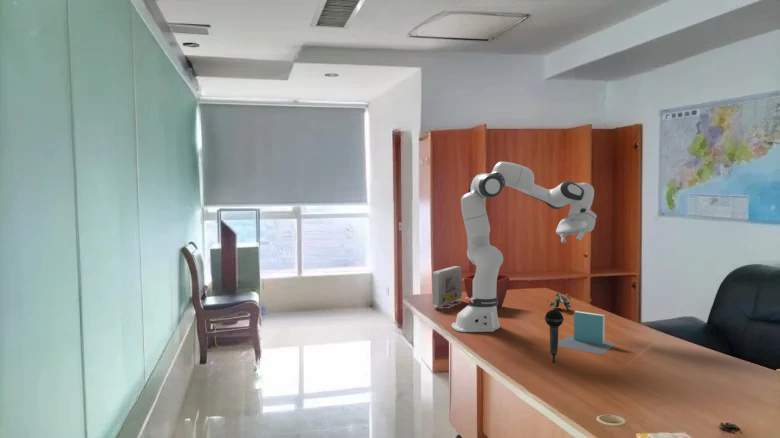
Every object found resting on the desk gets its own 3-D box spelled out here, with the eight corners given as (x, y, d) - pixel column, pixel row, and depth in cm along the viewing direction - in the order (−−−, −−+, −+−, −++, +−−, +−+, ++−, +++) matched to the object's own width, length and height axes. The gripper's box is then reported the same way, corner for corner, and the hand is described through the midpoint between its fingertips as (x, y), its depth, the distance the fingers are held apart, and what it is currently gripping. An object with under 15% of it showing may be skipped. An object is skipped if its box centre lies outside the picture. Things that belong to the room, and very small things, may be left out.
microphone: (560, 366, 205) (561, 313, 204) (542, 363, 209) (542, 310, 208) (565, 361, 211) (565, 309, 210) (547, 358, 215) (547, 307, 213)
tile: (575, 338, 238) (576, 310, 238) (604, 343, 231) (604, 315, 230) (573, 339, 237) (574, 311, 236) (602, 344, 229) (602, 316, 228)
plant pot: (510, 306, 303) (510, 275, 302) (497, 313, 287) (497, 281, 286) (477, 302, 313) (477, 272, 312) (463, 309, 297) (463, 278, 296)
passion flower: (567, 320, 292) (577, 305, 284) (547, 317, 290) (557, 302, 283) (561, 304, 300) (571, 289, 293) (542, 301, 299) (551, 286, 292)
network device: (452, 299, 321) (452, 265, 319) (466, 301, 316) (466, 266, 314) (429, 308, 300) (428, 271, 299) (443, 310, 295) (443, 273, 294)
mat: (569, 336, 243) (569, 335, 243) (616, 344, 231) (616, 343, 231) (552, 346, 230) (552, 345, 229) (601, 355, 217) (601, 354, 217)
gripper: (557, 215, 267) (549, 240, 263) (590, 208, 250) (582, 235, 245) (566, 221, 270) (558, 246, 265) (600, 215, 252) (592, 241, 247)
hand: (570, 241), depth 255 cm, fingers open, 8 cm apart
